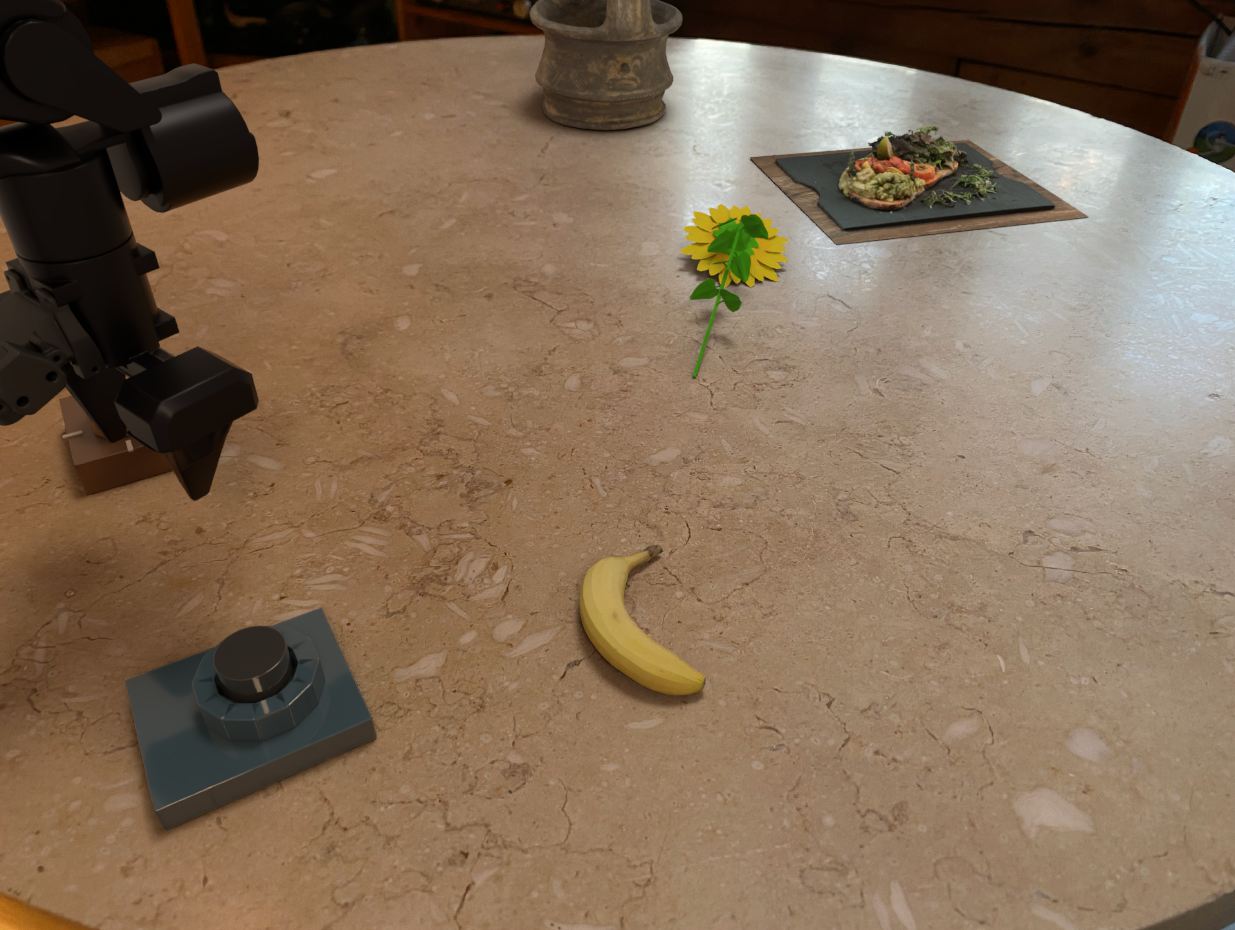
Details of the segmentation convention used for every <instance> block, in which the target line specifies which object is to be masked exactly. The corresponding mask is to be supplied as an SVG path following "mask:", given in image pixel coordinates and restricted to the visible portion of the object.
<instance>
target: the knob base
mask: <svg viewBox="0 0 1235 930" xmlns="http://www.w3.org/2000/svg"><path fill="white" fill-rule="evenodd" d="M266 626H267V627H271V628H274V629H276V630H277V631H279V632H280V633H281V634H282V635H283V636H284V638H285V640H286V643H287V647H288V650H289V653H290V657H291V660H292V663H293V672H292V676H291V678H290V680H289V682H288V683H287V684H286V686H285V687H284V688H283V689H282V690H280V691H279V692H278V693H276V694H275V695H273V696H271V697H269V698H267V699H264V700H262V701H258V702H249V703H247V702H239V701H236V700H233V699H231V698H230V697H228V696H227V695H226V694H225V692H224V691H223V688H222V686H221V683H220V681H219V678H218V675H217V673H216V670H215V668H214V664H213V658H214V654H215V651H216V649H217V648H218V646H219V645H220V643H221V642H222V641H220V642H219V643H217V645H216V646H213V647H210V648H208V649H205V650H202V651H199V652H197V653H195V654H192V655H189V656H186V657H183V658H181V659H178V660H175V661H173V662H170V663H167V664H164V665H161V666H159V667H156V668H154V669H153V668H152V669H151V670H148V671H146V672H142V673H140V674H138V675H135V676H132V677H129V678H126V679H125V680H124V684H125V688H126V693H127V697H128V701H129V706H130V711H131V715H132V720H133V725H134V728H135V732H136V737H137V743H138V746H139V750H140V755H141V759H142V764H143V768H144V772H145V777H146V781H147V786H148V791H149V795H150V798H151V803H152V808H153V812H154V814H155V816H156V818H157V819H158V821H159V824H160V825H161V828H162V829H163V831H169V830H172V829H173V828H175V827H178V826H180V825H182V824H184V823H187V822H190V821H192V820H194V819H196V818H198V817H200V816H202V815H205V814H207V813H209V812H213V811H215V810H216V809H219V808H220V807H224V806H225V805H228V804H230V803H232V802H235V801H237V800H239V799H242V798H244V797H246V796H249V795H250V794H253V793H255V792H258V791H260V790H263V789H264V788H267V787H269V786H271V785H274V784H276V783H279V782H281V781H283V780H286V779H287V778H289V777H292V776H294V775H296V774H299V773H301V772H303V771H305V770H308V769H310V768H313V767H314V766H317V765H320V764H322V763H324V762H326V761H328V760H331V759H333V758H335V757H337V756H338V757H339V756H340V755H343V754H344V753H347V752H349V751H351V750H354V749H356V748H358V747H361V746H363V745H365V744H367V743H369V742H372V741H374V740H376V739H377V738H378V736H377V731H376V727H375V723H374V718H373V715H372V714H371V712H370V710H369V707H368V705H367V703H366V701H365V698H364V697H363V694H362V692H361V690H360V688H359V686H358V684H357V681H356V679H355V676H354V675H353V673H352V671H351V668H350V666H349V664H348V662H347V659H346V657H345V654H344V653H343V651H342V648H341V646H340V644H339V642H338V640H337V638H336V635H335V633H334V631H333V629H332V627H331V624H330V622H329V621H328V618H327V616H326V613H325V612H324V609H323V608H322V607H318V608H316V609H313V610H310V611H307V612H305V613H302V614H300V615H296V616H295V617H291V618H288V619H286V620H283V621H281V622H278V623H275V624H273V625H266Z"/></svg>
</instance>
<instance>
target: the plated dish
mask: <svg viewBox="0 0 1235 930" xmlns="http://www.w3.org/2000/svg"><path fill="white" fill-rule="evenodd" d="M918 130H919V131H918ZM939 130H940V127H939V126H937V125H936V126H935V125H930V126H924V127H918V128H916V131H915V132H914V131H913V130H911V129H908V130H907V132H906V133H904V134H900V135H896V134H894V133H893V132H892V131H887V130H886V131H884V136H883V135H881V136H880V137H878V138H877V140H875V141H872V142H867V144H868V147H859V148H858V147H857V148H847V149H835V150H823V151H820V150H819V151H811V152H795V153H785V154H773V155H769V154H768V155H762V156H761V155H759V156H749V159H750V160H752V162H754V163H755V165H756V166H757V167H758V168H759V169H760V170H761V171H762V172H763V173H764V174H766V176H767V177H768V178H769V179H771V181H773V182H774V184H776V186H777V187H778V188H779V189H781V191H782V192H783V193H784V194H785V195H787V197H788V198H790V199H791V200H792V202H794V203H795V204H796V205H797V206H798V208H799V209H801V211H802V212H804V214H805V215H807V216H808V217H809V219H811V220H812V222H813V223H815V224H816V225H817V227H819V229H820V230H821V231H823V233H824V234H825V235H827V237H828V238H829V239H830V240H831V241H832V242H833V243H834V244H835V245H845V244H854V243H863V242H872V241H882V240H890V239H899V238H900V239H901V238H909V237H918V236H927V235H928V236H929V235H935V234H946V233H954V232H965V231H973V230H983V229H989V228H990V229H992V228H1002V227H1009V226H1010V227H1011V226H1018V225H1028V224H1036V223H1045V222H1046V223H1047V222H1055V221H1063V220H1073V219H1084V218H1089V215H1087V214H1085V213H1084V212H1083V211H1081V210H1079V209H1078V208H1076V207H1075V206H1073V205H1071V204H1070V203H1069V202H1067V201H1066V200H1064V199H1063V198H1061V197H1059V196H1058V195H1056V194H1055V193H1053V192H1052V191H1050V190H1048V189H1047V188H1045V187H1043V186H1042V185H1040V184H1039V183H1037V182H1036V181H1034V180H1033V179H1031V178H1029V177H1028V176H1026V175H1024V174H1023V173H1021V172H1020V171H1019V170H1017V169H1015V168H1014V167H1012V166H1010V164H1007V163H1006V162H1004V161H1003V160H1001V159H1000V158H998V157H996V156H994V155H993V154H991V153H990V152H988V151H987V150H985V149H983V148H982V147H980V146H979V145H977V144H976V143H974V142H973V141H972V140H969V139H962V140H948V141H946V139H945V138H943V137H944V136H943V135H940V136H939V137H937V138H933V136H932V135H931V133H932V132H934V135H935V136H937V134H938V131H939Z"/></svg>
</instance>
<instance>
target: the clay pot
mask: <svg viewBox="0 0 1235 930" xmlns="http://www.w3.org/2000/svg"><path fill="white" fill-rule="evenodd" d="M529 18H530V22H531V23H532V24H533V25H534V26H535V27H536V28H537V29H539V30H542V32H543V35H544V45H543V50H542V54H541V57H540V60H539V63H538V65H537V69H536V71H535V73H534V78H535V81H536V83H537V85H538V86H540V87H542V93H543V96H544V100H543V102H542V105H541V108H542V111H543V113H544V115H545V116H546V117H547V118H548V119H550V120H551V121H552V122H554V123H556V124H559V125H561V126H566V127H571V128H578V129H583V130H584V129H585V130H595V131H614V130H615V131H616V130H626V129H632V128H637V127H642V126H646V125H650V124H652V123H655V122H657V121H658V120H659V119H661V117H663V116H664V114H665V113H666V108H667V107H666V103H665V102H664V100H663V98H664V96H665V93H666V91H667V90H668V89H670V88H671V87H672V85H673V83H674V75H673V73H672V71H671V67H670V64H669V61H668V56H667V42H668V39H669V35H671V34H674V33H675V32H676V31H678V30H679V28H680V27H681V26H682V24H683V14H682V12H681V11H680V10H679V9H678V8H677V7H675V6H674V5H672V4H670V3H667V2H665V1H662V0H536V2H535V3H534V4H533V5H532V6H531V8H530V10H529Z"/></svg>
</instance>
